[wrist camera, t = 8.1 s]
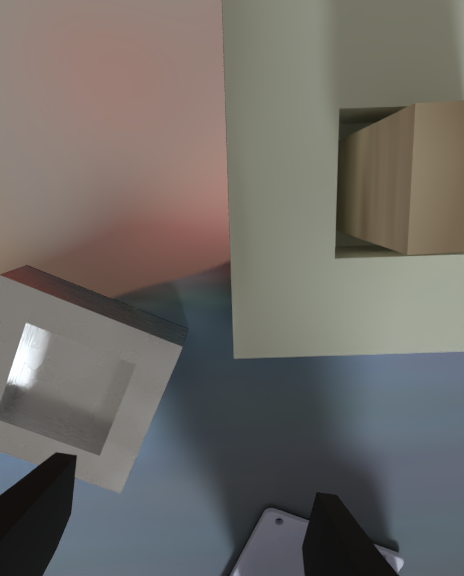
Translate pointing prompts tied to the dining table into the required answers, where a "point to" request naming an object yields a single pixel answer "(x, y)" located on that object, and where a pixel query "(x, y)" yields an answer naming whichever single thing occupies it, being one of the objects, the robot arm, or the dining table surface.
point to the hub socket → (330, 174)
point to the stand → (79, 374)
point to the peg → (405, 180)
